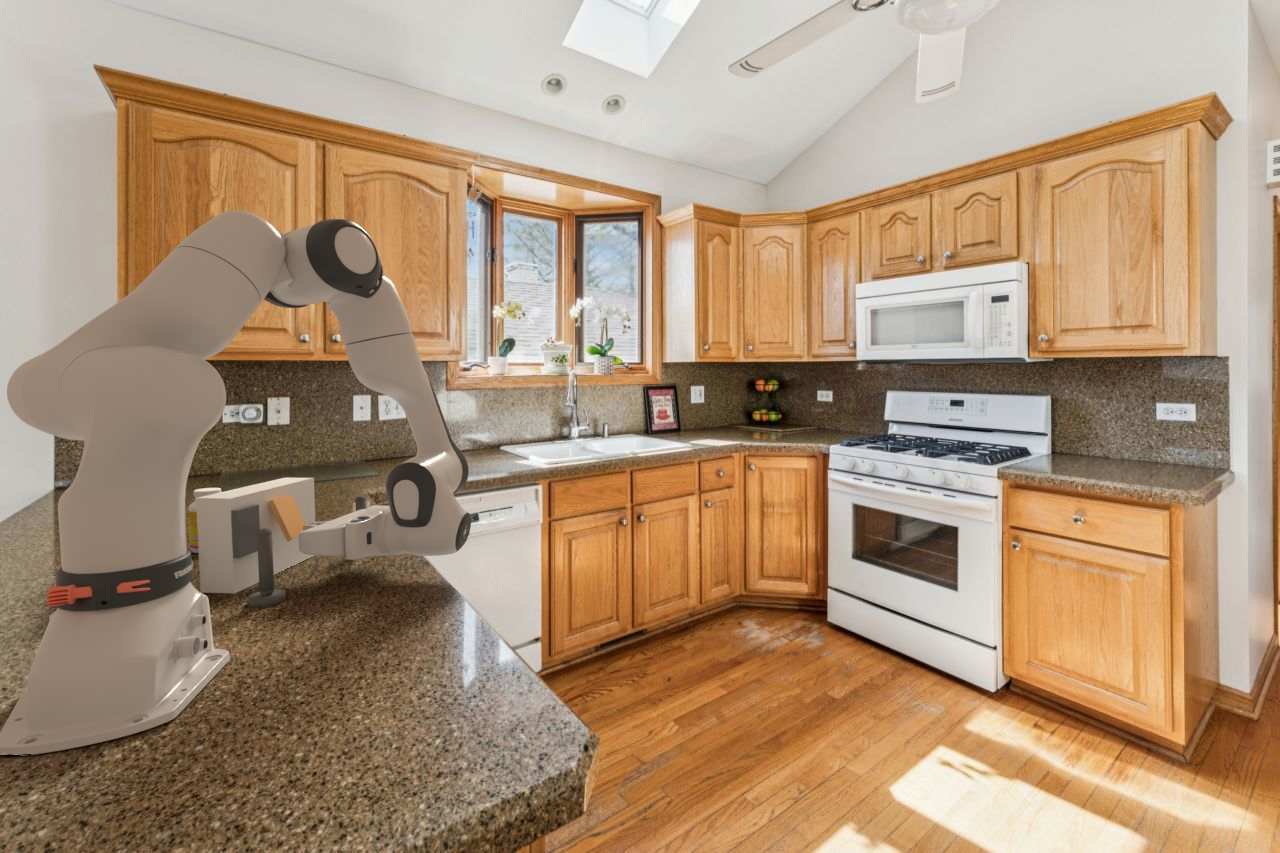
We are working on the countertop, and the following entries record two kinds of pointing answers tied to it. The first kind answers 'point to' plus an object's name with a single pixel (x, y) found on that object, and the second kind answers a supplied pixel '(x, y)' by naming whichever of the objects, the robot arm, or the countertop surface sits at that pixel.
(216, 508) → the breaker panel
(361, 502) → the post
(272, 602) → the post
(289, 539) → the orange paddle
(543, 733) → the countertop surface
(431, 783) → the countertop surface
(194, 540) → the supplement bottle
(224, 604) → the countertop surface
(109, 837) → the countertop surface
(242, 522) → the black paddle
